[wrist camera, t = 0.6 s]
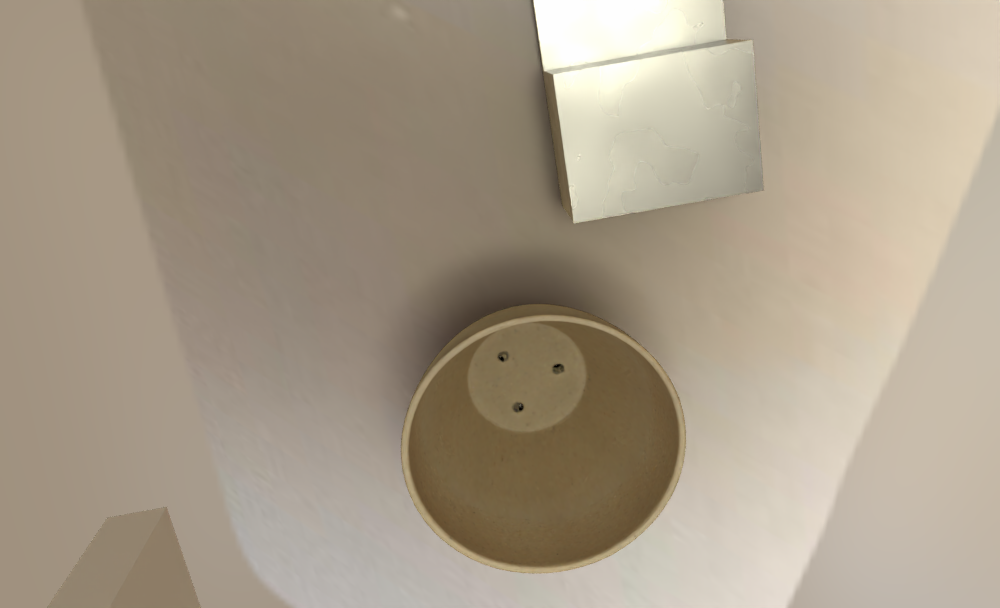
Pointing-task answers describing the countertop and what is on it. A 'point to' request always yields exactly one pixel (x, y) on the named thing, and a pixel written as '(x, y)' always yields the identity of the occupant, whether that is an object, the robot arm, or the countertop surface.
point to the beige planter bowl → (542, 440)
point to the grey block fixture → (647, 104)
